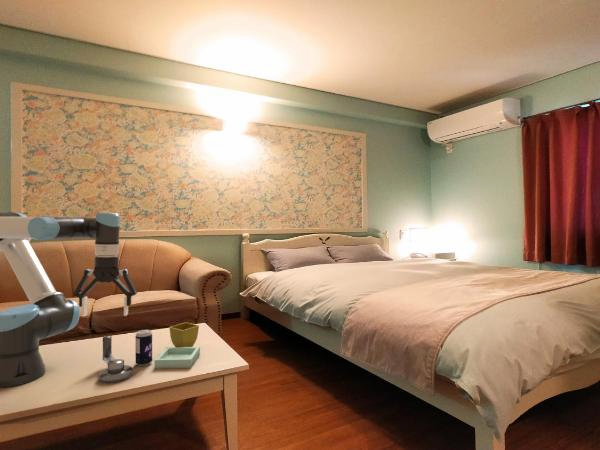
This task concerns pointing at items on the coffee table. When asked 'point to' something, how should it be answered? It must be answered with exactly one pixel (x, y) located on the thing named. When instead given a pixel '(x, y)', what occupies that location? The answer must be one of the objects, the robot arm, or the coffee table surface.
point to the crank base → (115, 375)
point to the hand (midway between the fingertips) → (105, 315)
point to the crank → (111, 357)
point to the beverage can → (143, 347)
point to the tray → (177, 357)
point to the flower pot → (184, 334)
